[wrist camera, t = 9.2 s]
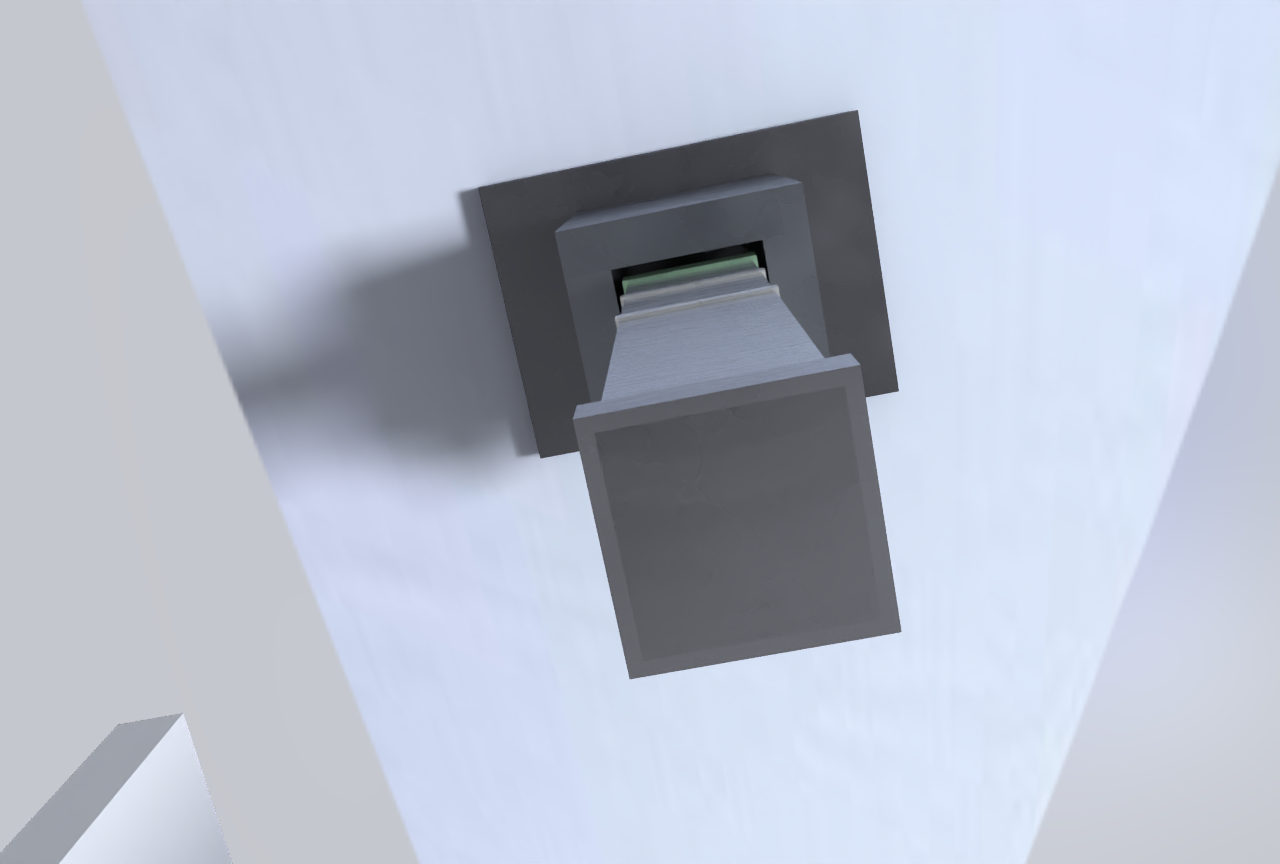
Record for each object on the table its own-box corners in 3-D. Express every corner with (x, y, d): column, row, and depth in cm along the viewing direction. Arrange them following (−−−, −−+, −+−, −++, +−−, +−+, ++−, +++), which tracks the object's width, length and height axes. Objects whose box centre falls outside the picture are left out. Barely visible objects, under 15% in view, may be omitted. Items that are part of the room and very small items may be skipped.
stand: (482, 186, 49) (430, 201, 38) (854, 110, 48) (910, 103, 37) (542, 452, 52) (511, 536, 41) (894, 386, 51) (957, 454, 40)
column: (619, 269, 40) (572, 419, 19) (753, 242, 40) (860, 364, 19) (645, 399, 41) (629, 678, 20) (776, 374, 41) (901, 632, 20)
